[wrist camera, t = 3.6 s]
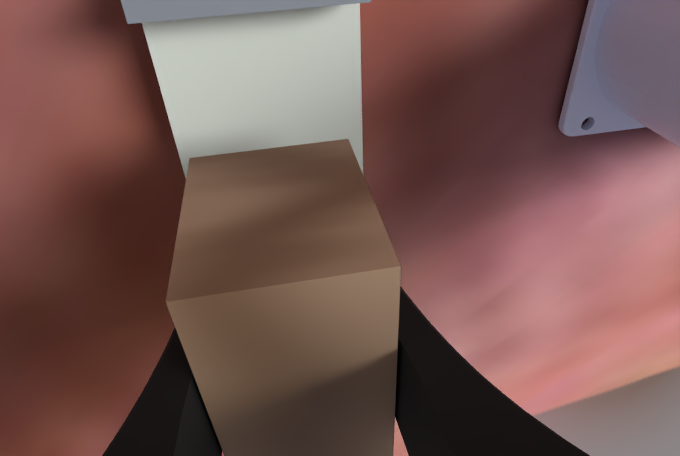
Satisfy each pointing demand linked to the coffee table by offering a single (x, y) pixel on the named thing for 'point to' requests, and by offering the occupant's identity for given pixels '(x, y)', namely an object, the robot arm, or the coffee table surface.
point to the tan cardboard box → (288, 302)
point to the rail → (255, 72)
